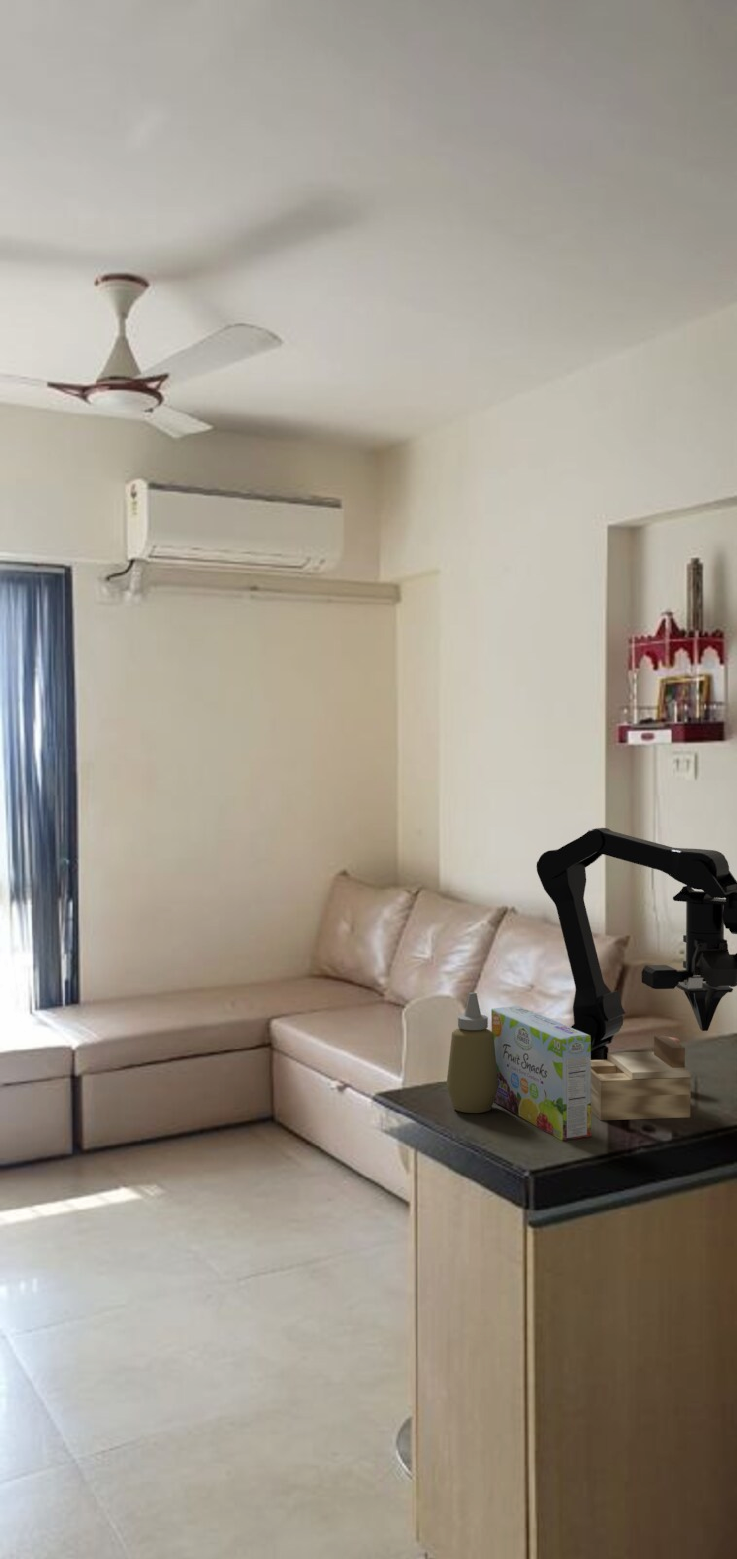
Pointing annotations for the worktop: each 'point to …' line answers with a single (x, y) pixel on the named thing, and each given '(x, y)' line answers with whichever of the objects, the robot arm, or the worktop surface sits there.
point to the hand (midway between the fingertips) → (704, 1030)
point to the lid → (653, 1061)
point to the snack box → (543, 1071)
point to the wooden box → (636, 1095)
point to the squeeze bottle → (472, 1062)
